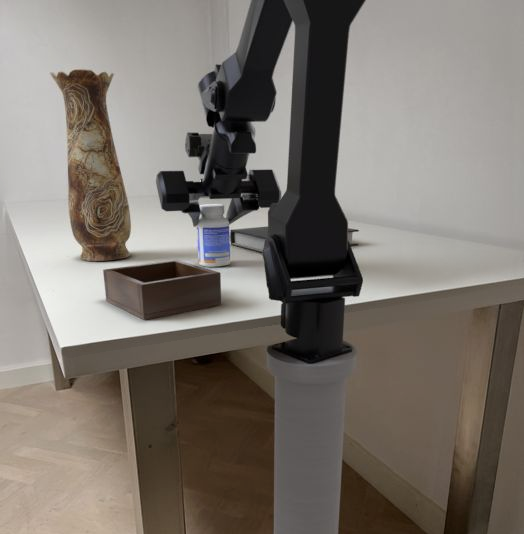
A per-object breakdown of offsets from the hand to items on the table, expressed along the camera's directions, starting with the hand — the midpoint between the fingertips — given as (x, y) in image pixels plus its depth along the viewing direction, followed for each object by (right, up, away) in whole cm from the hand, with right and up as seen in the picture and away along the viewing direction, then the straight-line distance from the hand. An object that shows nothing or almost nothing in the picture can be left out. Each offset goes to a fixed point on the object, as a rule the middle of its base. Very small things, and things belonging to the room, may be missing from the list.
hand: (210, 223), depth 92 cm
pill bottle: (0, -7, +1) cm, 7 cm away
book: (+15, 0, +20) cm, 25 cm away
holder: (-4, -15, -23) cm, 27 cm away
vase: (-20, -5, +7) cm, 22 cm away
